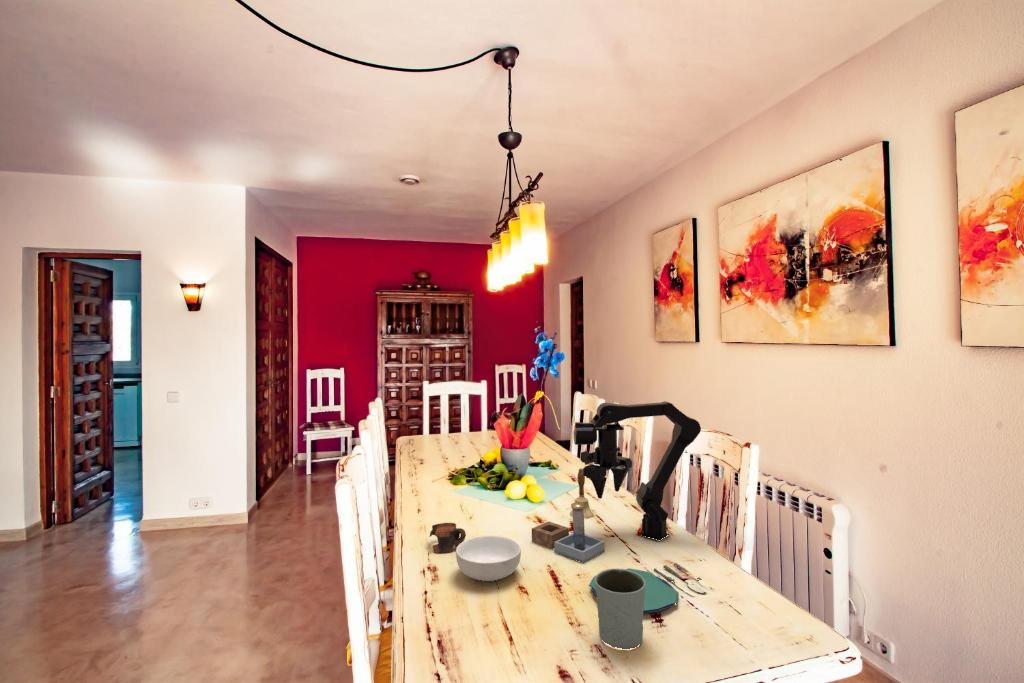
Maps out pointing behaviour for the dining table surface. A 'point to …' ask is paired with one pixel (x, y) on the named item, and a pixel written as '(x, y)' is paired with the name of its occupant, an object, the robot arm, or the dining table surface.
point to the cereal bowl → (488, 557)
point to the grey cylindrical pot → (620, 607)
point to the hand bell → (581, 498)
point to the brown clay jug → (447, 536)
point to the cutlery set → (655, 590)
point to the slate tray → (568, 550)
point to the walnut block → (548, 534)
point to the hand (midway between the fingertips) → (608, 494)
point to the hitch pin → (578, 525)
